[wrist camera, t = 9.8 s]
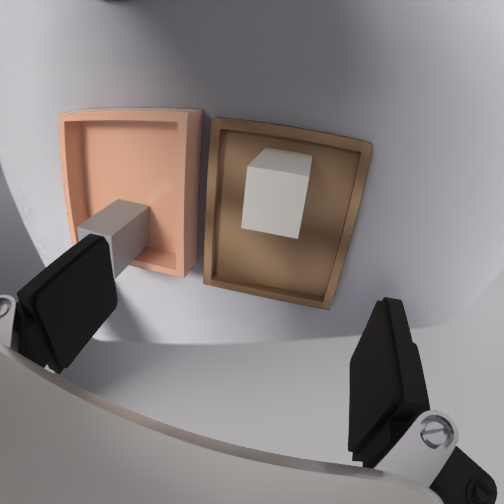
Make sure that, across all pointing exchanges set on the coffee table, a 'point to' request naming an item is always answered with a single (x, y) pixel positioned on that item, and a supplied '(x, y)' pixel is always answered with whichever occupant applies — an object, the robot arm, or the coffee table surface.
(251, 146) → the tray
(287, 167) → the light grey rectangular box
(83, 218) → the dish
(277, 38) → the coffee table surface
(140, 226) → the grey rectangular block
